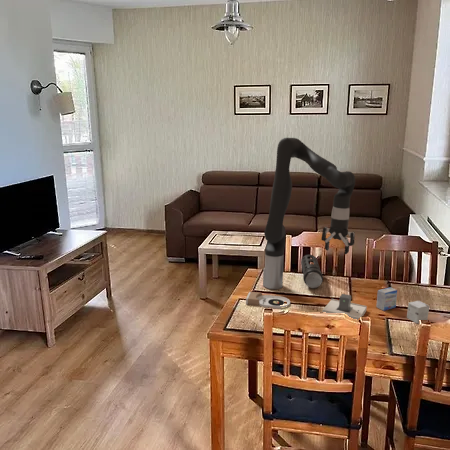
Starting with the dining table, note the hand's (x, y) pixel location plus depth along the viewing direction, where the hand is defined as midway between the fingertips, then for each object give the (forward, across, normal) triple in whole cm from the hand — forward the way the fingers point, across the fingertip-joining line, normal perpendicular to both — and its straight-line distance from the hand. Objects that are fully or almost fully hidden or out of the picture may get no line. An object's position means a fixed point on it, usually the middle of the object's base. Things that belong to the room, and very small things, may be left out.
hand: (336, 251), depth 202 cm
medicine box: (+25, +22, +10) cm, 35 cm away
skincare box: (+25, +37, +4) cm, 44 cm away
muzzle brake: (+26, -19, +24) cm, 40 cm away
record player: (+27, -26, -13) cm, 40 cm away
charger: (+26, +8, -6) cm, 27 cm away
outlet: (+25, +8, -6) cm, 27 cm away
